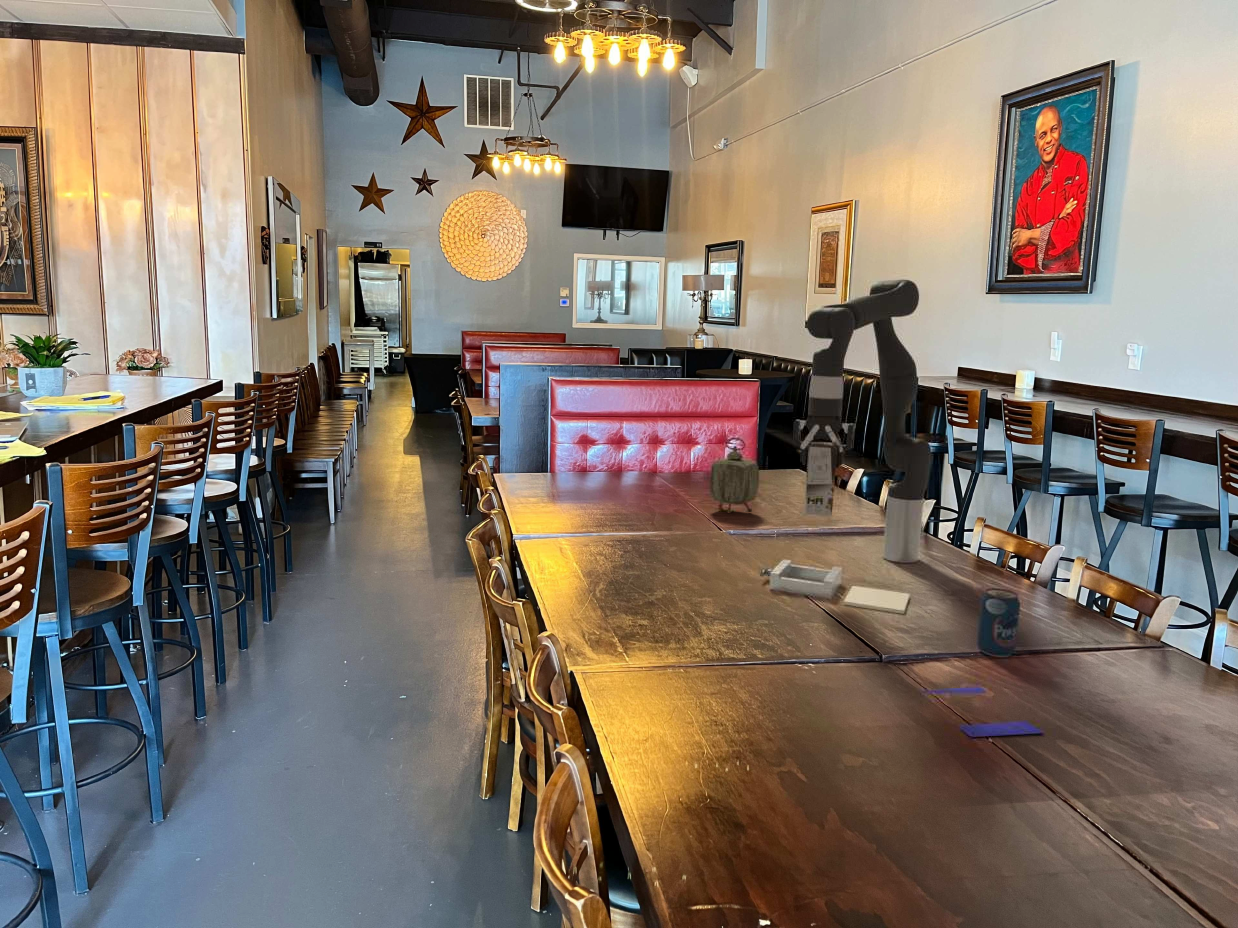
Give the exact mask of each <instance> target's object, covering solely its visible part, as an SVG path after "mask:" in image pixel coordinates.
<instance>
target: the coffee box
mask: <svg viewBox="0 0 1238 928" xmlns="http://www.w3.org/2000/svg"><path fill="white" fill-rule="evenodd" d="M807 449H808V459H807V465H806V474H805V475H806V477H805V479H806V480H805V481H806V482H805V495H804V514H805V515H812V516H825V517H832V516H833V504H834V492H835V481H836V480H835V479H836V469H837V468H836V455H837V452H838V450H837V446H835V445H834V444H833V442H829V441H817V442H816V441H811V442H810V443H809V445H808V446H807Z"/></svg>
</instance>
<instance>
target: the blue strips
mask: <svg viewBox="0 0 1238 928" xmlns="http://www.w3.org/2000/svg"><path fill="white" fill-rule="evenodd" d="M916 692H917V693H918V694H919V693H921V694H922V693H924V694H925V693H926V694H927V693H928V694H929V693H930V694H931V693H932V694H935V693H939V694H940V693H941V694H957V693H958V694H988V692H987V691H986V690H985V689H984V688H982V687H980V686H970V687H959V688H958V687H956V688H947V689H943V688H942V689H933V690H920V691H916ZM956 728H958V729H960V730H961V731H962V732H964V733H965V734H966V735H968V736H969V737H970V738H973V737H974V738H975V737H979V738H980V737H992V736H993V737H994V736H1011V735H1012V736H1013V735H1015V736H1016V735H1029V734H1030V735H1031V734H1044V733H1045V732H1044V731H1042V730H1041V729H1039V728H1038V727H1036V726H1034V725H1033V724H1031V723H1029V722H1028V721H1026V720H1020V721H1007V722H994V723H983V724H982V723H981V724H971V725H969V724H968V725H958V726H957V725H956Z"/></svg>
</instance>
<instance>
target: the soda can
mask: <svg viewBox="0 0 1238 928" xmlns="http://www.w3.org/2000/svg"><path fill="white" fill-rule="evenodd" d="M980 599H981V600H980V601H981V602H980V610H979V619H978V628H977V636H976V644H977V647H978V649H979V650H980V652H982V653H983V654H985V655H988V656H991V657H996V658H997V657H998V658H1008V657H1010V656H1011V655H1012V654H1013V653H1014V652H1015V651H1016V645H1017V638H1018V627H1019V620H1020V610H1021V603H1020V601H1019V594H1018V593H1017V592H1015V591H1013V590H1009V589H1005V588H996V587H995V588H994V587H993V588H987V589H985V593H984V594H983V595H982V597H981V598H980Z"/></svg>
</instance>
